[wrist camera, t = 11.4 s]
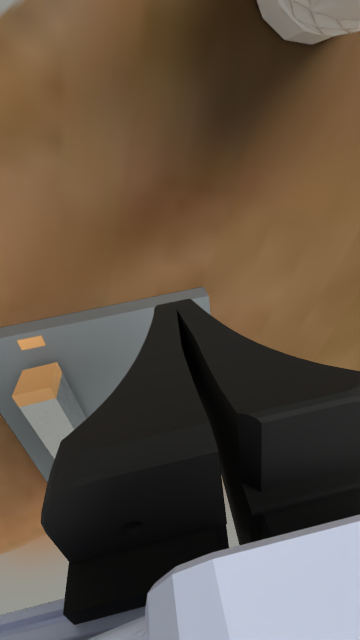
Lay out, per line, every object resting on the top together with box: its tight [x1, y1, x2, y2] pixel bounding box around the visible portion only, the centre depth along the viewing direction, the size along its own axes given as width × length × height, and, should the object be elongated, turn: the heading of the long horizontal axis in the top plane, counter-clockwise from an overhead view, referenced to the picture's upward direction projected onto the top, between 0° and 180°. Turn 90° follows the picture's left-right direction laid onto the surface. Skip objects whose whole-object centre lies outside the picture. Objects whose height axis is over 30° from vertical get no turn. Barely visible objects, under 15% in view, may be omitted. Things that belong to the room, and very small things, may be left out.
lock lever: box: [12, 362, 86, 459], centre depth 23 cm, size 12×4×3 cm, turn 10°
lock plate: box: [0, 287, 210, 483], centre depth 24 cm, size 17×16×6 cm
